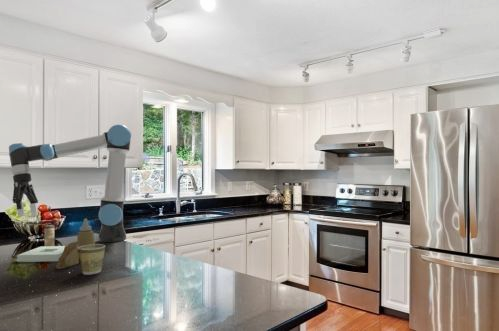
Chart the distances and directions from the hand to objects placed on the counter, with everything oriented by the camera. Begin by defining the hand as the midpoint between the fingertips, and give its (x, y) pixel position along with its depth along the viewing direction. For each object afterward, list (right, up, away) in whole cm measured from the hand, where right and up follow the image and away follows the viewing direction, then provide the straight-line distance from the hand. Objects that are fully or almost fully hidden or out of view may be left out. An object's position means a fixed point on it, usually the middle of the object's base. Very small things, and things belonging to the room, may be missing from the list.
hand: (28, 216), depth 179 cm
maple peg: (+7, -18, +7) cm, 20 cm away
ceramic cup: (+48, -17, -36) cm, 62 cm away
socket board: (+16, -18, -10) cm, 25 cm away
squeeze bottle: (+35, -17, -14) cm, 41 cm away
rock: (+33, -17, -27) cm, 46 cm away
